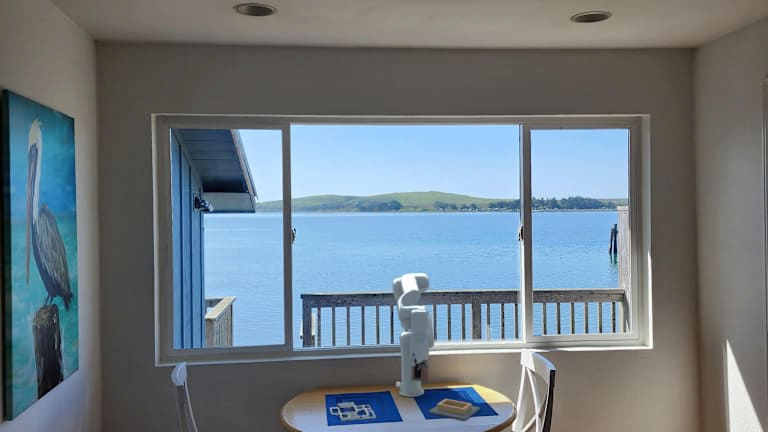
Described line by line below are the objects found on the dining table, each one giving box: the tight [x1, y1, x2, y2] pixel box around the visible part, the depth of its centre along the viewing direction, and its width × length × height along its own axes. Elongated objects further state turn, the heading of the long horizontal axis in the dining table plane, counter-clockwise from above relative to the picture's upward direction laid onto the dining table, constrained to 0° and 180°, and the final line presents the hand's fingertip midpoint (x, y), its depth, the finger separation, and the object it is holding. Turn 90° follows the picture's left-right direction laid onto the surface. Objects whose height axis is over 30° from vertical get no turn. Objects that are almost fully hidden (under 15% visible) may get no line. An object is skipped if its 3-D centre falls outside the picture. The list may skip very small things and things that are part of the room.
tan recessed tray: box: [428, 398, 481, 422], centre depth 269 cm, size 18×16×4 cm
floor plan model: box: [329, 401, 377, 422], centre depth 270 cm, size 19×25×2 cm
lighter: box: [411, 359, 430, 383], centre depth 267 cm, size 8×3×10 cm, turn 67°
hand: (420, 376), depth 267 cm, fingers closed on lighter, 3 cm apart
